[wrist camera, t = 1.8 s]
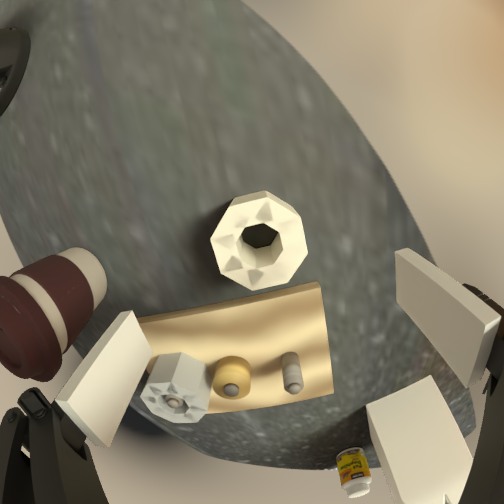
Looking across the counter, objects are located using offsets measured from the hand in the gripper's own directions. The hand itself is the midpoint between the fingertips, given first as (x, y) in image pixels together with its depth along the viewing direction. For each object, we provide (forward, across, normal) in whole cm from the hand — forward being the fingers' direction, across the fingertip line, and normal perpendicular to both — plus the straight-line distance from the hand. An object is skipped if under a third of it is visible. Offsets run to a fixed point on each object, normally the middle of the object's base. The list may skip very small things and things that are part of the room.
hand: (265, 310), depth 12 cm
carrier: (+14, -7, -14) cm, 21 cm away
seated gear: (+13, -13, -14) cm, 23 cm away
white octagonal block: (+14, 0, 0) cm, 14 cm away
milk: (+15, +16, -35) cm, 41 cm away
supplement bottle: (+15, +7, -46) cm, 48 cm away
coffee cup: (+14, -21, 0) cm, 26 cm away
